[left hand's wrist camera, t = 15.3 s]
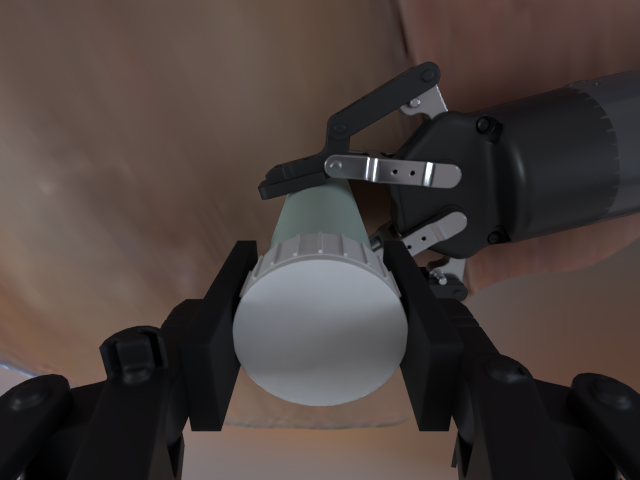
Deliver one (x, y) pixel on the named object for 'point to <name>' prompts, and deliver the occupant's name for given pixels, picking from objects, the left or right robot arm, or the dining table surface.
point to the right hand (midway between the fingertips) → (277, 232)
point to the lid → (320, 321)
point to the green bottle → (321, 213)
